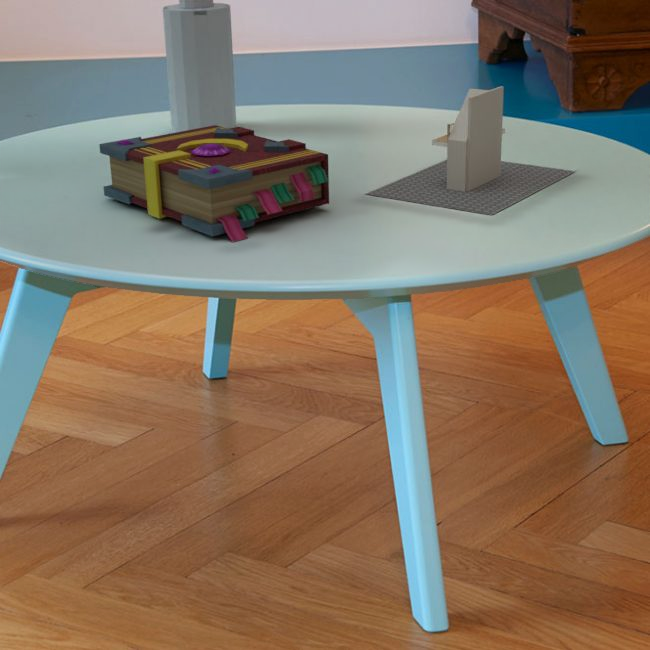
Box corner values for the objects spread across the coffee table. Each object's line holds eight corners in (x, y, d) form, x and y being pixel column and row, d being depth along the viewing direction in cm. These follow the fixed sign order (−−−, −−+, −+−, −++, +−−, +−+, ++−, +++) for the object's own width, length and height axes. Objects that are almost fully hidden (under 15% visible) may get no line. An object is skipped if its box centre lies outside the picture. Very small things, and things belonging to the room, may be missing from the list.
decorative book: (219, 174, 97) (216, 116, 95) (343, 212, 86) (342, 147, 84) (103, 199, 90) (97, 137, 89) (220, 245, 79) (216, 175, 77)
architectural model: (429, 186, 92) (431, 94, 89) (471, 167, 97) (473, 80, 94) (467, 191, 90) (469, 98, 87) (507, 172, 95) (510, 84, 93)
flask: (175, 138, 110) (162, -34, 104) (169, 125, 116) (157, -39, 110) (240, 134, 112) (231, -36, 105) (231, 121, 117) (222, -41, 111)
